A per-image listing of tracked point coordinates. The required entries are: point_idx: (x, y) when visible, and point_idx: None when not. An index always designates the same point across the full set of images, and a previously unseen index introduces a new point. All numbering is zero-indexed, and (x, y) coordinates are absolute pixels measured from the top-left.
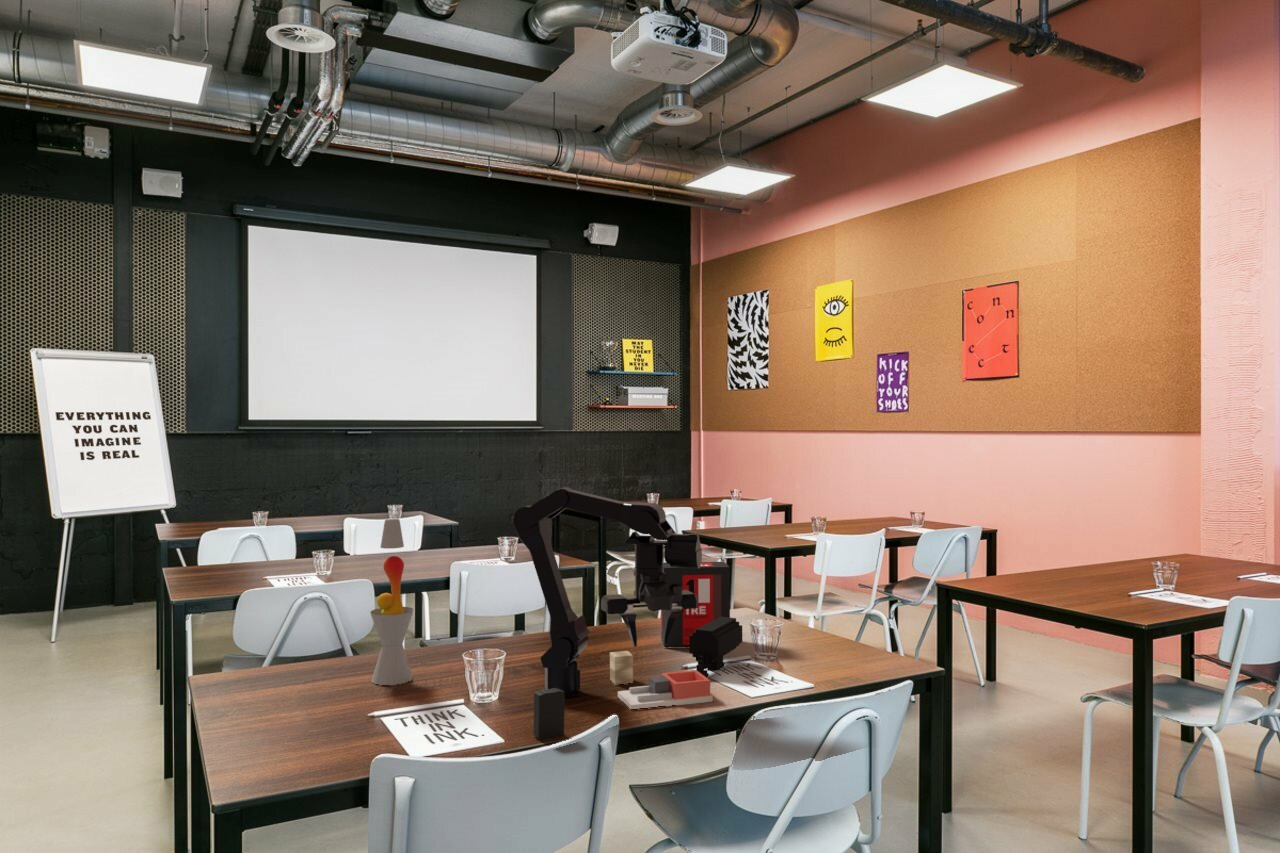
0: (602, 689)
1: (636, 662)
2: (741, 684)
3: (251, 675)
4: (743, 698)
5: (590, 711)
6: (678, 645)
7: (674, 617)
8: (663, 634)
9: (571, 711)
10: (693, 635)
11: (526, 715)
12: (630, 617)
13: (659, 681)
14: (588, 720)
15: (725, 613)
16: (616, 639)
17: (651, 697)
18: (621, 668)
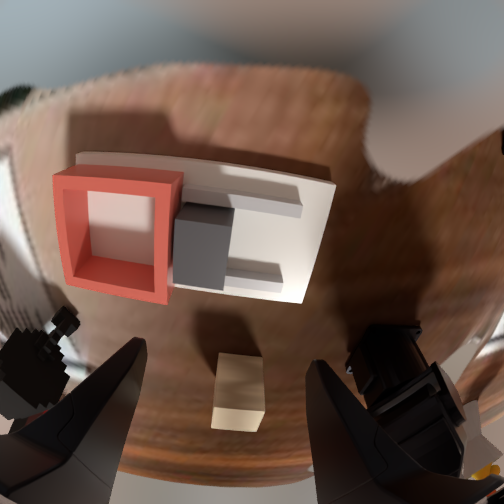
0: (301, 345)
1: (168, 418)
2: (9, 243)
3: (491, 418)
4: (22, 151)
5: (412, 227)
6: None
7: (16, 443)
8: (132, 389)
9: (437, 247)
10: (46, 401)
11: (488, 264)
12: (454, 491)
13: (212, 230)
14: (444, 174)
15: (16, 429)
16: (168, 464)
17: (256, 196)
18: (246, 385)
